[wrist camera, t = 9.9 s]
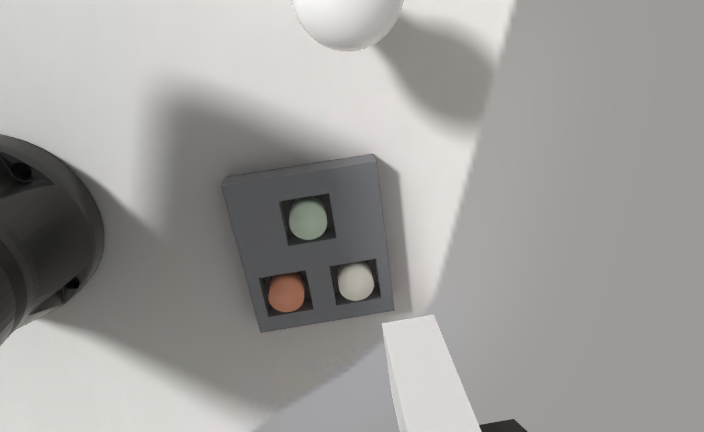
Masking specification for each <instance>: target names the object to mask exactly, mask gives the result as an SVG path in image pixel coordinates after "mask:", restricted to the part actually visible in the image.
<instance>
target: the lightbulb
mask: <svg viewBox="0 0 704 432" xmlns="http://www.w3.org/2000/svg"><path fill="white" fill-rule="evenodd" d="M291 1H292V5H293V9H294V12H295V14H296V17H297V19H298V21H299V22H300V24H301V26H302V27H303V28H304V30H305V31H306V32H307V33H308V34H309V35H310V36H311V37H312V38H313V39H314V40H315V41H317V42H318V43H320V44H321V45H323V46H325V47H328V48H330V49H333V50H337V51H347V52H349V51H358V50H362V49H365V48H368V47H370V46H372V45H374V44H376V43H377V42H379V41H380V40H381V39H383V38H384V37H385V36H386V35H387V34H388V33H389V32H390V30H391V29H392V28H393V26H394V25H395V23H396V21H397V20H398V18H399V15H400V13H401V10H402V6H403V2H404V0H291Z"/></svg>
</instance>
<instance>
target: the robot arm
mask: <svg viewBox="0 0 704 432" xmlns="http://www.w3.org/2000/svg"><path fill="white" fill-rule="evenodd" d="M103 248H104V228H103V223H102V219H101V215H100V212H99V210H98V207H97V205H96V203H95V201H94V199H93V197H92V196H91V194H90V192H89V191H88V189H87V188H86V187H85V185H84V184H83V183H82V182H81V180H80V179H79V178H78V177H77V176H76V175H75V174H74V173H73V172H72V171H71V170H70V169H69V168H68V167H67V166H66V165H64V164H63V163H62V162H61V161H59V160H58V159H57V158H55V157H54V156H52V155H51V154H49V153H47V152H46V151H44V150H42V149H40V148H38V147H36V146H34V145H32V144H30V143H27V142H25V141H22V140H19V139H16V138H13V137H9V136H5V135H1V134H0V346H1V345H2V344H3V342H4V341H5V340H6V339H7V338H8V337H9V336H10V334H11V333H12V332H13V331H14V330H16V329H18V328H20V327H22V326H24V325H26V324H28V323H30V322H32V321H34V320H36V319H38V318H40V317H41V316H43V315H45V314H47V313H49V312H51V311H53V310H55V309H57V308H59V307H61V306H62V305H64V304H65V303H67V302H68V301H69V300H71V299H72V298H73V297H74V296H75V295H76V294H77V293H78V292H79V291H80V290H81V289H82V288H83V286H84V285H85V284H86V283H87V281H88V280H89V279H90V277H91V276H92V275H93V274H94V272H95V270H96V269H97V267H98V265H99V262H100V260H101V257H102V253H103ZM382 329H383V336H384V344H385V350H386V358H387V366H388V372H389V380H390V387H391V395H392V400H393V404H394V409H395V413H396V418H397V422H398V427H399V432H527V431H526V430H525V429H524V428H523V427H522V426H521V425H519V423H517V422H516V421H515V420H514V419H511V420H506V421H500V422H494V423H488V424H483V425H479V424H478V422H477V419H476V417H475V414H474V412H473V410H472V407H471V405H470V402H469V400H468V397H467V395H466V393H465V390H464V388H463V385H462V383H461V380H460V378H459V375H458V373H457V371H456V368H455V366H454V363H453V361H452V358H451V356H450V354H449V351H448V349H447V346H446V344H445V341H444V339H443V336H442V334H441V332H440V329H439V327H438V324H437V322H436V320H435V317H434V315H428V316H422V317H416V318H410V319H404V320H398V321H392V322H386V323H382Z"/></svg>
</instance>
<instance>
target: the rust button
mask: <svg viewBox="0 0 704 432" xmlns="http://www.w3.org/2000/svg"><path fill="white" fill-rule="evenodd" d="M303 301H304V279H303V277H302V276H301V275H300V274H299V273H298V272H292V273H286V274H280V275H274V276H273V277H272V278H271V281H270V289H269V302H270V304H271V306H272V307H273V308H275V309H276V310H278V311H281V312H292V311H295V310H297V309H298V308H299V307H300V306H301V305H302V304H303Z"/></svg>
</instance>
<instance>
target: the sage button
mask: <svg viewBox="0 0 704 432" xmlns="http://www.w3.org/2000/svg"><path fill="white" fill-rule="evenodd" d="M289 226H290V229H291V231H292V232H293V234H294V235H295V236H297V237H299V238H301V239H304V240H312V239H316V238H318V237H319V236H321V235H322V234H323V233H324V231H325V230H326V227H327V215H326V208H325V205H324V204H323V202H322V201H321V200H320V199H318V198H316V197H314V196H309V197H303V198H298V199H296V200H295V201H294V202H293V204H292V206H291V208H290V217H289Z"/></svg>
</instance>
